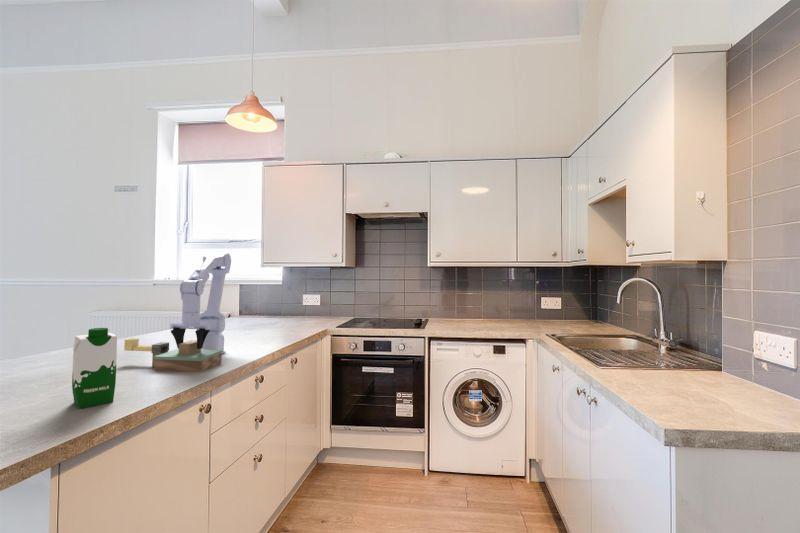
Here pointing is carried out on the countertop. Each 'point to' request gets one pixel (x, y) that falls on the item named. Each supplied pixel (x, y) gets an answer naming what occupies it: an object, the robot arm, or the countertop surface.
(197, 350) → the lid
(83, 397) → the milk carton
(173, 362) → the wooden box
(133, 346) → the wooden block
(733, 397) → the countertop surface
